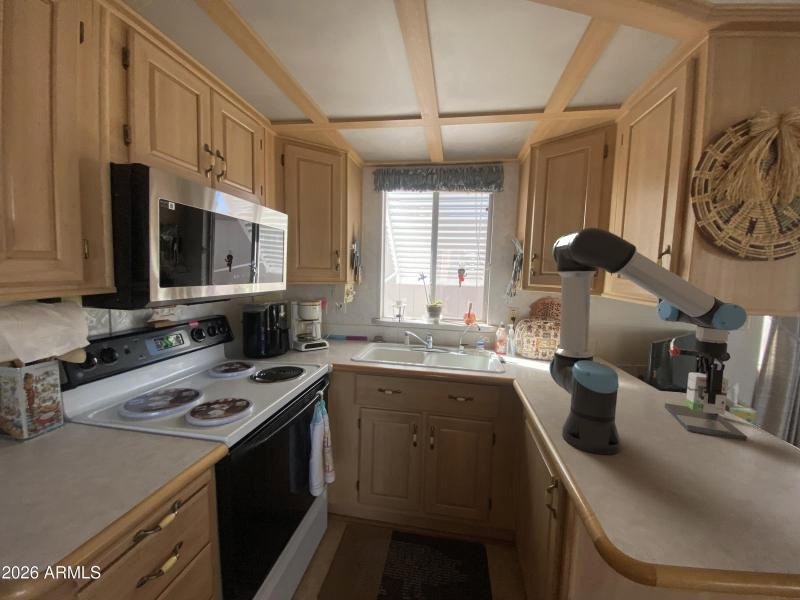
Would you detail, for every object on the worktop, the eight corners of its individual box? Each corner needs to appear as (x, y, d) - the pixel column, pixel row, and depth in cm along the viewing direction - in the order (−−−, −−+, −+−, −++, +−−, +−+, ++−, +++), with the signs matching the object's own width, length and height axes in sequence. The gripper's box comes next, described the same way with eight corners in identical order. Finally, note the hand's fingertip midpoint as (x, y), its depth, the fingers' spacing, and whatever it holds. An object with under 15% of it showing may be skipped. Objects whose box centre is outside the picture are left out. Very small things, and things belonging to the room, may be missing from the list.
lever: (730, 362, 111) (731, 352, 111) (670, 356, 118) (671, 346, 117) (725, 360, 114) (726, 350, 114) (667, 354, 121) (668, 345, 120)
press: (746, 441, 99) (755, 362, 97) (687, 430, 105) (694, 356, 103) (712, 414, 119) (720, 347, 116) (664, 406, 124) (670, 343, 122)
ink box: (692, 410, 106) (695, 376, 105) (684, 405, 110) (688, 371, 109) (725, 414, 103) (729, 379, 102) (716, 408, 108) (719, 374, 107)
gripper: (742, 347, 95) (734, 422, 97) (712, 336, 112) (706, 401, 114) (709, 344, 98) (702, 418, 100) (685, 334, 115) (679, 397, 117)
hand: (704, 408), depth 107 cm, fingers closed on ink box, 5 cm apart
